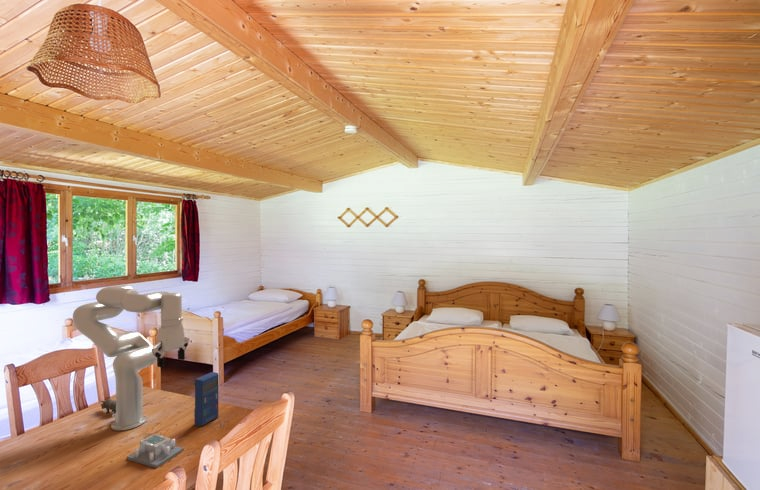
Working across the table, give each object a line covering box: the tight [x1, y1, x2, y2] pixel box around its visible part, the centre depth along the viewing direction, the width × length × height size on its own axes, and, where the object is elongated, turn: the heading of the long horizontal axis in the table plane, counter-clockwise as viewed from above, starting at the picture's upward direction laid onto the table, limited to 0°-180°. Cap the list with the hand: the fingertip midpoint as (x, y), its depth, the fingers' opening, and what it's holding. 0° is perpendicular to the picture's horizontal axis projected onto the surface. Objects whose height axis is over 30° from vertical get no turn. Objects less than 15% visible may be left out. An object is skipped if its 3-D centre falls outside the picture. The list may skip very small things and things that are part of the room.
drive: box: [139, 433, 172, 460], centre depth 131 cm, size 9×6×5 cm, turn 65°
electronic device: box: [193, 371, 219, 427], centre depth 156 cm, size 10×5×20 cm, turn 159°
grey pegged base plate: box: [126, 438, 185, 469], centre depth 131 cm, size 15×11×4 cm
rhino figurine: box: [100, 398, 116, 415], centre depth 164 cm, size 4×14×6 cm, turn 68°
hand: (171, 363), depth 148 cm, fingers open, 9 cm apart
